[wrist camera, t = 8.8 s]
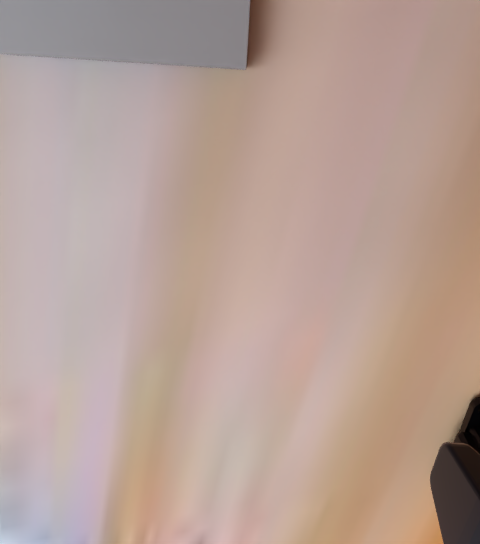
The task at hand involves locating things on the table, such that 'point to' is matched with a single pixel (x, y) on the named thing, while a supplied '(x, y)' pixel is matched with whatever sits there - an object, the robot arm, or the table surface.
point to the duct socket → (129, 31)
